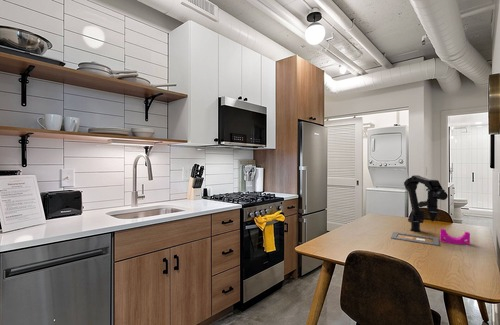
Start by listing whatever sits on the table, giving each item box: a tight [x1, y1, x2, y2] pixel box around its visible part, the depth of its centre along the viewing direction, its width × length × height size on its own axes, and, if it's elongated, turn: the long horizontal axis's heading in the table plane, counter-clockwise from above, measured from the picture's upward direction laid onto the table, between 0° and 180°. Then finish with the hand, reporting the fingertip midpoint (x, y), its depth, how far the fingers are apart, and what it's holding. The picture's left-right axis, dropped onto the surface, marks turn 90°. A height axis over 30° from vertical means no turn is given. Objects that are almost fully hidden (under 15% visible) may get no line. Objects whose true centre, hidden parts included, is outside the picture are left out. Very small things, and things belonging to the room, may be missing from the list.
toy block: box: [439, 228, 471, 245], centre depth 171 cm, size 15×6×8 cm, turn 57°
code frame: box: [390, 231, 440, 247], centre depth 179 cm, size 18×27×1 cm, turn 56°
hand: (432, 220), depth 182 cm, fingers open, 9 cm apart
